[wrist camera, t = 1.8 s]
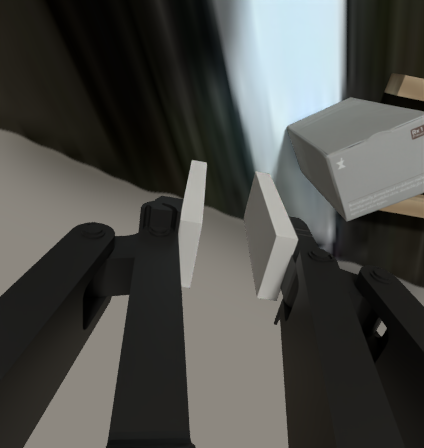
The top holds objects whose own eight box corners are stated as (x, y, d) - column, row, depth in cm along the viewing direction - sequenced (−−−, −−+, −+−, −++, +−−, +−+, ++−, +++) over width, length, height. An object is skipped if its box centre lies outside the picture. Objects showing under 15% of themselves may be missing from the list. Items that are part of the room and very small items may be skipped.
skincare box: (300, 171, 42) (342, 232, 28) (283, 118, 39) (320, 158, 25) (367, 145, 41) (447, 195, 27) (354, 87, 38) (436, 111, 24)
